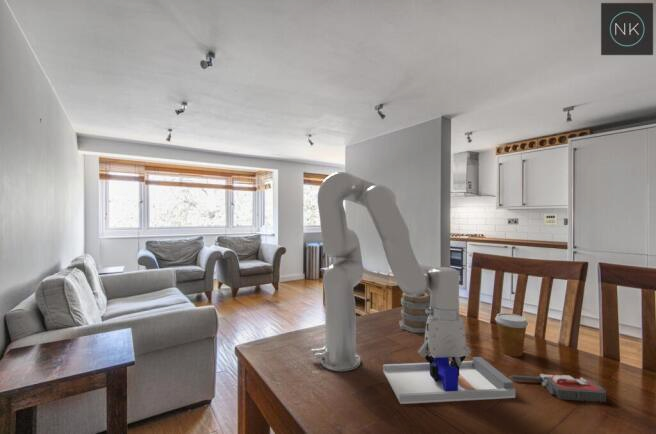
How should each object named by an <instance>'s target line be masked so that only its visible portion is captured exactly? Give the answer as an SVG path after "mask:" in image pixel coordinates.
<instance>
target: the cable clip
mask: <svg viewBox="0 0 656 434" xmlns="http://www.w3.org/2000/svg"><path fill="white" fill-rule="evenodd" d="M449 358H450V357H446V358H438V361H437V367H438V380H441V382H442V384H443V387H444V390H445V392H446V391H458V369H457V367H450V365H449V362H450V359H449Z"/></svg>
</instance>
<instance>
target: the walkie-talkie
mask: <svg viewBox="0 0 656 434" xmlns="http://www.w3.org/2000/svg"><path fill="white" fill-rule="evenodd" d="M511 380H517V381H529V382H530V381H534V382H538V383H541V386H542V387H544V388H546V389H547V390H548V392H549V393H550V394H551V395H554V397H556V398H557V399H559V400H566V401H568V400H569V401H581V402H582V401H584V400H585V402H597V401H600V402H599V403H606V401H607V394H606V393H607V391H606V389H605V388H603V387H602V386H601V385H599V384H598V383H597V382H595V381H593V379H588V378H587V379H585V378H584V377H580V378H574V377H573V376H572V375H566V374H562V375H561V374H544V373H540V374H539V375H537V376H528V375H514V374H512V375H511ZM603 401H604V402H603Z"/></svg>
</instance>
